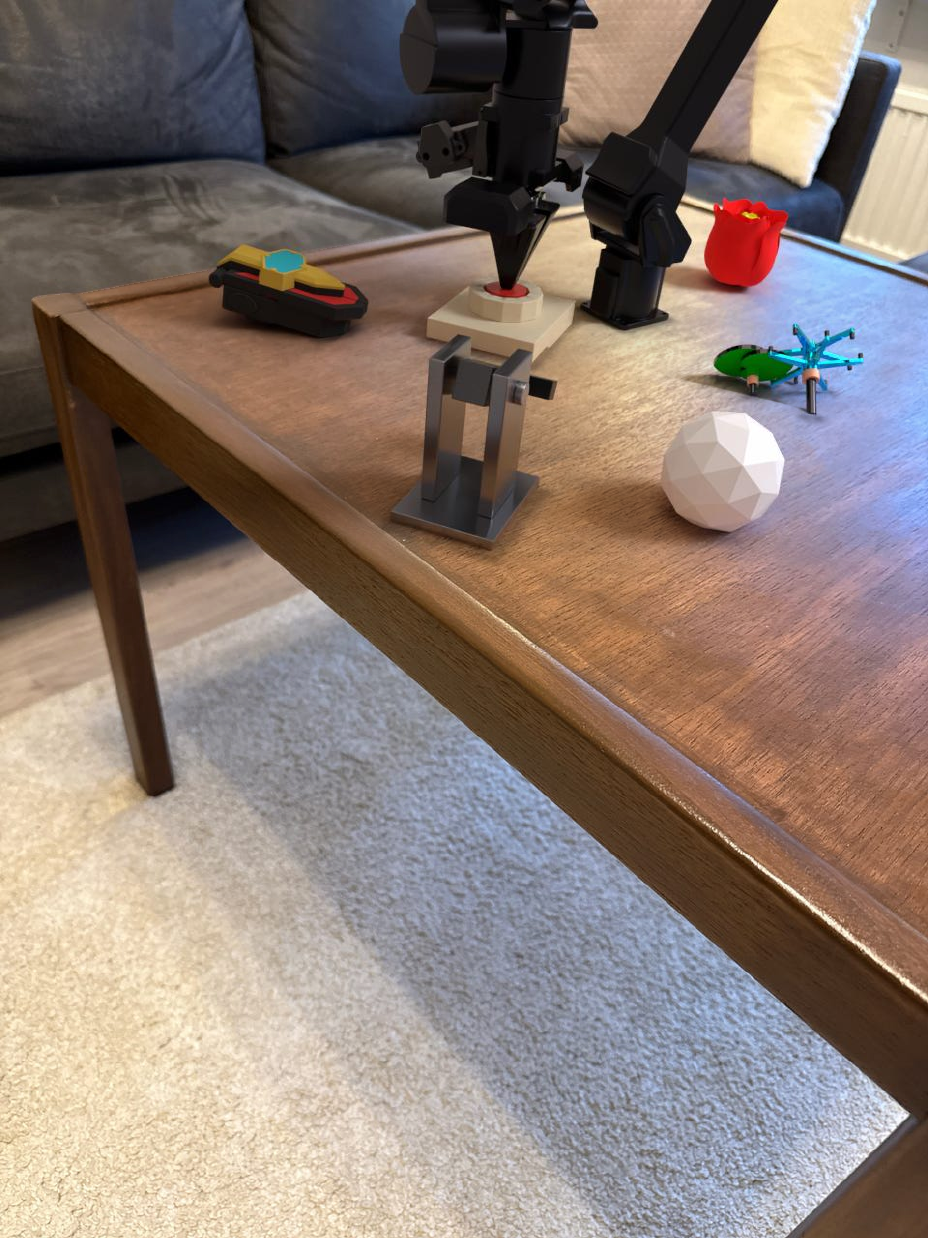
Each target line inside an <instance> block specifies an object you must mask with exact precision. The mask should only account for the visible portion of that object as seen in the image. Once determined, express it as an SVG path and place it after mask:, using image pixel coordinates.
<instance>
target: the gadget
mask: <svg viewBox="0 0 928 1238" xmlns="http://www.w3.org/2000/svg"><path fill="white" fill-rule="evenodd" d="M208 283H209V285H210V286H211V287H213V288H215V289H220V288H221V287H222V288H223V289H222V301H221V308H222V309H223V310H226V311H230V312H232V313H236V314H239V315H242V316H243V317H245V319H246V320H249V321H252V322H254V323H257V324H261V325H262V324H264V325H273V324H274V325H275V324H276V325H280V326H283V327H285V328H289V329H292V330H296V331H299V332H301V333H305V334H308V335H312V336H314V337H318V338H327V337H337V336H342V335H343V336H344V335H346V334H347V331H349V329H350V328H351V327H350V326H351V320H352V321H353V320H361V319H363V317H364V316H365V315H366V313H367V312H368V308H369V301H370V300H369V299H368V298H367V297H366V296H365V295H364V293H363V292H362V291H361V290H360V289H359V288H358V286H356V285H352V284H350V283H346V282H344V281H340V280H338V279H337V278H336V277H334V276H333V275H331V274H330V273H328V272H327V271H325V270H324V269H322V268H320V267H316V266H313V265H310V264H307V259H306V254H304V253H301V252H297V251H295V250H291V249H288V248H281V249H276V250H274V251H266V250H262V249H260V248H256V247H254V246H251V245H248V244H244V243H243V244H241V245H239V246H238V247H237V248H236V249H234V250H233V251H231V252H230V253H228V254H227V255H226V256H225V257H224V258H222V259H221V260H219V261H218V262H217V263H216V269H215V270H213V271H212V272H211V273H210V274H209V275H208Z"/></svg>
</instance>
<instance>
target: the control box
mask: <svg viewBox="0 0 928 1238" xmlns="http://www.w3.org/2000/svg"><path fill="white" fill-rule="evenodd" d="M496 281H499V277H498V276H487V277H482V278H477V279H475V280H474V281H473V282H471V283H470V284H469V285H468V286H467V287H466V288H464V289H463V290H462V291H460V292H459V293H458V294H456V295H455V296H454V297H453V298H451V299H449V301H448V302H446V303H445V304H443V305H442V306H441V307H440V308H438V309H437V310H436V311H435V312H433V313H432V314H431V315H429V317H427V319H426V320H427V323H426V335H425V336H426V338H428V339H429V338H430V339H434V340H438V341H443V342H446V343H448V342H449V341H450V340H451V339H452V338H454V337H455V336H456V335H457V334H460V335H465V336H469V337H472V342H471V349H474V350H479V351H484V352H487V353H491V354H495V355H498V356H499V355H500V356H503V357H508V358H509V357H510V356H511V355H512V354H513V353H514V352H515V351H516V350H517V349H523V350H527V351H531V352H533V355H532V362H531V363H533V362H534V361H535V360H536V359H537V358H538V357H539V356H540V355H541V354H542V353H543V352H544V351H545V349H546V348H551V347H552V346H553V344H554V343H555V342H556V341H557V340H558V339H559V337H561V336H562V335H563V334H564V332H565V331H566V330H567V329H568V328H569V327H570V326H571V325H572V324H573V321H574V320H573V319H574V314H575V307H576V303H577V302H576V300H575V299H569V298H566V297H561V296H556V295H551V294H548V293H544V292H543V291H542V289H541V287H540V286H538V285H536V284H534V283H533V282H530V281H528V280H525V279H520V278H519V280H518V281H517V284H520V285H522V286H524V287H525V288H526V296H525V297H520V298H503V297H499V296H494V295H491V294H489V293H488V292H486V288H487V285H488V284H489V283H491V282H496Z"/></svg>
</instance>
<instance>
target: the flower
mask: <svg viewBox="0 0 928 1238" xmlns="http://www.w3.org/2000/svg"><path fill="white" fill-rule="evenodd" d="M712 209H713V214H714V223H713V225H712V228H711V229H710V232H709V234H708V236H707V240H706V243H705V247H704V252H703V260H704V261H703V262H704V265H705V267H706V269H707V271H708V272H709V274H710V275H711V276H712V277H713V278H714V279H715V280H716V281H717V282H719V283H721V284H726V285H731V286H740V287H745V288H746V287H747V288H749V287H755V286H757V285H759V284H761V283H762V282H763V281H764V280H765V279H766V278H767V277H768V276H769V274H770V273H771V272H772V270H773V268H774V265H775V263H776V259H777V256H778V254H779V250H780V246H781V245H780V244H781V233H782V231H783V229H784V228H785V226H786V225H787V220H788V218H789V213H788V212H786V211H785V210H780V209H779V210H776V209H775V210H774V209H770V208H769V207H768V206H767V205H766V203H765V202H763V201H756V202H755V203H753V202H752V201H751V200H750V199H747V198H742V199H736V200H733V201H728V200H727V199H726V197H723V199H722V208H721V207H720V204H719V203H717V202H716V203H714V204H713V206H712Z"/></svg>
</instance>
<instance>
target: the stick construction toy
mask: <svg viewBox="0 0 928 1238" xmlns="http://www.w3.org/2000/svg"><path fill="white" fill-rule="evenodd" d="M855 333H856V332H855V328H854V327H850V328H848V329H845V330H843V331H841V332H838V333H836V334H835V335H832V336H830V330H829V329H826V330H824V332H823V335H824V337H823V339H822V340H821V341H819V342H816V341H815V340H810V339H809V338H808V337H807V335H806V334H805V333H804V331H803V330H802V328H801V327H800V326H799V324H798V323H793V324H792V336H796V338H797V339H798V342H799V343H800V346H801V347H797V348H790V349H788V348H787V349H781V350H778V349H774V346H773V345H769V346H768V347H767V348H764V347H762V346H760V345H757V344H752V343H751V344H749V343H747V344H745V343H744V344H737V345H733V346H730V347H728V348H726V349H724V350H722V351H720V352H719V353H718V354H717V355H716V356H715V357H714V359H713V367H714V368H715V369H716V370H717V372H719V373H721V374H722V375H726V376H728V377H732V378H742V379H744V380H745V381H746V387H747V388H748V395H749V397H755V396H757V392H758V391H757V389H758V387H759V384H760V383H763V382H764V383H765V382H769V386H770V387H771V388H773V387H776V386H778V385H780V384H783V383H785V382H788V381H791V380H792V379H793V384H794V385H798V384H799V377H800V376H801V382H802V384H803V385H805V391H806V392H805V401H806V402H805V407H806V409H805V411H806V413H807V414H810V415H815V417H817V385H818V386H819V387H820V389H821V390H822V391H823V392H826V391H828V379H824V377H823V375H822V373H821V371H820V370H824V369H832V368H833V369H835V368H841V367H843V368H844V367H846V371H849V372H851V371H852V370H853V366H858V365H859V366H860V365H863V364H864V353H863V352H859V353H857V358H848V357H844V356H841V355H840V354H835V353H834V352H830V351H827V350H826V349H827V348H828V347H830V346H832V345H834V344H836V343H838V342H840V341H842V340H844V339H845V338H847V337H849V338H848V339H849V340H851V341H853V340H855V338H856V337H855ZM798 357H800V358H798ZM821 359H823V360H821ZM794 366H795V367H796V368H794V369H793V367H794ZM792 369H793V370H792Z"/></svg>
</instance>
